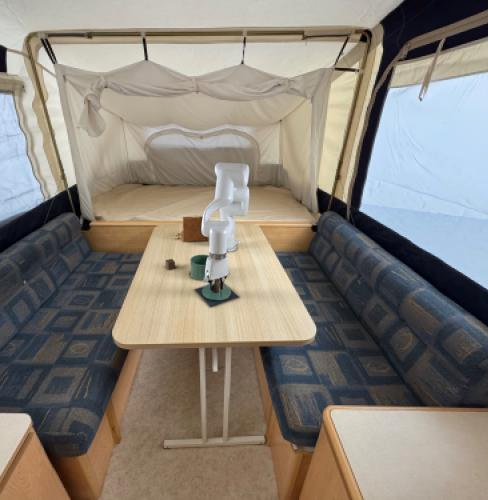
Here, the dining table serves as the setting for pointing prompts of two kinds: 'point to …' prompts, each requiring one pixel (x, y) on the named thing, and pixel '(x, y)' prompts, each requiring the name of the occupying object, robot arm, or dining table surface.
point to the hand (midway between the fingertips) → (216, 289)
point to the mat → (216, 302)
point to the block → (170, 264)
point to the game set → (192, 229)
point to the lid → (216, 291)
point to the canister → (198, 266)
